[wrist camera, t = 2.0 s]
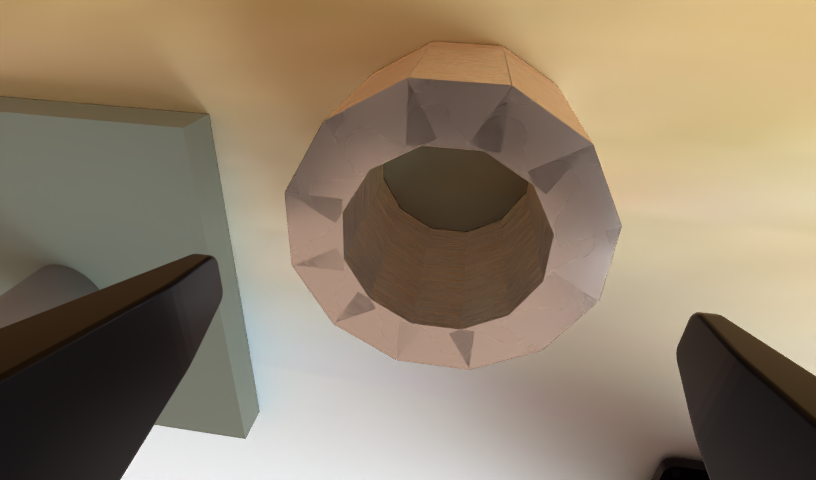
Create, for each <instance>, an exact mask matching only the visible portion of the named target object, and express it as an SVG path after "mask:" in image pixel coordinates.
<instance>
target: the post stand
mask: <svg viewBox="0 0 816 480" xmlns="http://www.w3.org/2000/svg"><path fill="white" fill-rule="evenodd" d="M191 254H204V255H212V256H214V257H215V258H216V260H217V262H218V266H219V271H220V277H221V282H222V287H223V297H222V300H221V303H220V305H219V307H218V309H217V311H216V314H215V316H214V318H213V320H212V322H211V324H210V326H209V328H208V330H207V333H206V335H205V337H204V339H203V341H202V343H201V345H200V347H199V349H198V351H197V354H196V356H195V358H194V359H193V361H192V363H191V365H190V367H189V369H188V370H187V372H186V374H185V375H184V377H183V379H182V380H181V382H180V384H179V385H178V387H177V388H176V390H175V392H174V393H173V395H172V397H171V398H170V400H169V401H168V403H167V405H166V406H165V408H164V410H163V411H162V413H161V414H160V416H159V418H158V419H157V421H156V423H155V424H154V425H160V426H166V427H173V428H179V429H186V430H192V431H198V432H205V433H211V434H218V435H224V436H231V437H237V438H243V439H246V437H247V435H248V433H249V431H250V429H251V427H252V425H253V423H254V421H255V419H256V417H257V415H258V413H259V406H258V400H257V394H256V388H255V382H254V376H253V371H252V365H251V359H250V353H249V347H248V341H247V335H246V330H245V324H244V318H243V312H242V306H241V300H240V294H239V288H238V283H237V277H236V271H235V265H234V259H233V253H232V247H231V242H230V236H229V230H228V224H227V218H226V212H225V206H224V200H223V195H222V189H221V183H220V177H219V171H218V165H217V159H216V153H215V148H214V142H213V136H212V130H211V124H210V118H209V114H200V113H188V112H176V111H165V110H153V109H141V108H129V107H117V106H106V105H94V104H82V103H70V102H58V101H47V100H35V99H23V98H11V97H0V328H2V327H5V326H8V325H10V324H13V323H15V322H18V321H20V320H23V319H26V318H28V317H31V316H33V315H36V314H39V313H41V312H44V311H46V310H49V309H51V308H54V307H57V306H59V305H62V304H64V303H67V302H70V301H72V300H75V299H77V298H80V297H82V296H85V295H88V294H90V293H93V292H95V291H98V290H101V289H103V288H106V287H108V286H111V285H113V284H116V283H119V282H121V281H124V280H126V279H129V278H131V277H134V276H137V275H139V274H142V273H144V272H147V271H150V270H152V269H155V268H157V267H160V266H162V265H165V264H168V263H170V262H173V261H175V260H178V259H181V258H183V257H186V256H188V255H191Z"/></svg>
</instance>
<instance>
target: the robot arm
mask: <svg viewBox="0 0 816 480" xmlns="http://www.w3.org/2000/svg"><path fill="white" fill-rule="evenodd" d="M222 297H223V287H222V282H221V277H220V271H219V266H218V262H217V260H216V258H215V257H214V256H212V255H204V254H191V255H188V256H186V257H183V258H181V259H178V260H175V261H173V262H170V263H168V264H165V265H162V266H160V267H157V268H155V269H152V270H150V271H147V272H144V273H142V274H139V275H137V276H134V277H131V278H129V279H126V280H124V281H121V282H119V283H116V284H113V285H111V286H108V287H106V288H103V289H101V290H98V291H95V292H93V293H90V294H88V295H85V296H82V297H80V298H77V299H75V300H72V301H70V302H67V303H64V304H62V305H59V306H57V307H54V308H51V309H49V310H46V311H44V312H41V313H39V314H36V315H33V316H31V317H28V318H26V319H23V320H20V321H18V322H15V323H13V324H10V325H8V326H5V327H2V328H0V480H120V479H121V478H122V476H123V474H124V473H125V471H126V470H127V468H128V466H129V465H130V463H131V461H132V460H133V458H134V457H135V455H136V453H137V452H138V450H139V448H140V447H141V445H142V444H143V442H144V440H145V439H146V437H147V436H148V434H149V432H150V431H151V429H152V427H153V426H154V424H155V423H156V421H157V419H158V418H159V416H160V414H161V413H162V411H163V410H164V408H165V406H166V405H167V403H168V401H169V400H170V398H171V397H172V395H173V393H174V392H175V390H176V388H177V387H178V385H179V384H180V382H181V380H182V379H183V377H184V375H185V374H186V372H187V370H188V369H189V367H190V365H191V363H192V361H193V359H194V358H195V356H196V354H197V351H198V349H199V347H200V345H201V343H202V341H203V339H204V337H205V335H206V333H207V330H208V328H209V326H210V324H211V322H212V320H213V318H214V316H215V314H216V311H217V309H218V307H219V305H220V303H221V300H222ZM676 356H677V363H678V367H679V371H680V376H681V380H682V384H683V389H684V393H685V397H686V402H687V406H688V410H689V414H690V419H691V423H692V427H693V431H694V434H695V438H696V441H697V444H698V447H699V450H700V453H701V456H702V458H703V461H704V462H702V461H695V460H688V459H681V458H667V459H665V460H663V461H662V462H661V463H660V465H659V467H658V469H657V471H656V473H655V475H654V477H653V479H652V480H816V376H814V375H813V374H811V373H810V372H808V371H807V370H805V369H804V368H802V367H801V366H799V365H797V364H796V363H794V362H793V361H791V360H790V359H788V358H787V357H785V356H783V355H782V354H780V353H779V352H777V351H776V350H774V349H773V348H771V347H769V346H768V345H766V344H765V343H763V342H762V341H760V340H759V339H757V338H756V337H754V336H752V335H751V334H749V333H748V332H746V331H745V330H743V329H742V328H740V327H738V326H737V325H735V324H734V323H732V322H731V321H729V320H728V319H726V318H724V317H723V316H721V315H718V314H709V313H700V312H697V313H695V314H693V315H692V316H691V317H690V319H689V321H688V323H687V326H686V328H685V330H684V333H683V335H682V337H681V340H680V342H679V344H678V347H677V353H676Z"/></svg>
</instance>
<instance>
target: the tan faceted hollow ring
mask: <svg viewBox="0 0 816 480" xmlns="http://www.w3.org/2000/svg"><path fill="white" fill-rule="evenodd" d="M421 146H429V147H440V148H452V149H463V150H475V151H484V152H486V153H487V154H489V155H490V156H492V157H493V158H494V159H496V160H497V161H499V162H500V163H502V164H503V165H505V166H506V167H508V168H509V169H511V170H512V171H513V172H515V173H516V174H518V175H519V176H521V177H522V178H524V179H525V180H527V181H528V186H527V192H526V193H525V194H524V195H523V196H522V197H521V198H520V199H519V201H518V202H517V203H516V204H515V205H514V206H513V207H512V209H511V210H510V211H509V212H508V213H507V214H506V215H505V217H504V218H503V219H502V220H499V221H496V222H494V223H491V224H488V225H486V226H483V227H480V228H478V229H475V230H472V231H470V232H460V231H451V230H441V229H432V228H430V227H428V226H427V225H425V224H423V223H422V222H420V221H419V220H417V219H416V218H414V217H412V216H411V215H409V214H408V213H406V212H405V211H403V210H401V209H400V207H399V205H398V203H397V201H396V200H395V198H394V196H393V194H392V193H391V191H390V189H389V187H388V185H387V184H386V182H385V180H384V178H383V164H384V163H386V162H388V161H390V160H392V159H395V158H397V157H399V156H401V155H403V154H406V153H408V152H410V151H412V150H414V149H416V148H419V147H421ZM285 201H286V211H287V222H288V232H289V242H290V252H291V263H292V266H293V268H294V269H295V271H296V272H297V273H298V275H299V276H300V278H301V279H302V280H303V282H304V283H305V285H306V286H307V288H308V289H309V290H310V292H311V293H312V295H313V296H314V297H315V299H316V300H317V302H318V303H319V304H320V306H321V307H322V309H323V310H324V312H325V313H326V314H327V316H328V317H329V319H330V320H331V321H332V323H334V325H336V326H338V327H340V328H341V329H343V330H345V331H347V332H348V333H350V334H352V335H354V336H355V337H357V338H359V339H361V340H362V341H364V342H366V343H368V344H369V345H371V346H373V347H375V348H376V349H378V350H380V351H381V352H383V353H385V354H387V355H388V356H390V357H392V358H394V359H395V360H396V359H397V360H400V361H408V362H415V363H423V364H430V365H438V366H445V367H453V368H460V369H468V370H469V369H474V368H478V367H482V366H485V365H489V364H493V363H497V362H500V361H504V360H508V359H512V358H515V357H519V356H523V355H527V354H530V353H534V352H538V351H541V350H543V349H544V348H545V347H546V346H548V345H549V344H550V343H551V342H552V341H553V340H554V339H556V338H557V337H558V336H559V335H560V334H561V333H563V332H564V331H565V330H566V329H567V328H568V327H569V326H571V325H572V324H573V323H574V322H575V321H576V320H577V319H579V318H580V317H581V316H582V315H583V314H584V313H586V312H587V311H588V310H589V309H590V308H591V307H592V306H594V305H595V304H596V303H597V302H598V300H599V299H600V296H601V292H602V289H603V286H604V283H605V279H606V276H607V273H608V270H609V266H610V263H611V260H612V257H613V253H614V250H615V247H616V244H617V240H618V237H619V234H620V231H621V226H622V225H621V222H620V220H619V217H618V214H617V211H616V208H615V205H614V202H613V199H612V197H611V194H610V191H609V188H608V185H607V182H606V179H605V177H604V174H603V171H602V168H601V165H600V162H599V159H598V157H597V154H596V151H595V148H594V145H593V143H592V142H591V140H590V138H589V137H588V135H587V133H586V132H585V130H584V128H583V127H582V125H581V123H580V122H579V120H578V118H577V117H576V115H575V114H574V112H573V110H572V109H571V107H570V105H569V104H568V102H567V100H566V99H565V97H564V95H563V94H562V92H561V90H560V89H559V87H558V86H557V85H555V84H554V83H553V82H551V81H550V80H549V79H547V78H546V77H545V76H543V75H542V74H540V73H539V72H538V71H536V70H535V69H534V68H532V67H531V66H530V65H528V64H527V63H526V62H524V61H523V60H522V59H520V58H519V57H517V56H516V55H515V54H513V53H512V52H511V51H509V50H508V49H507V48H505V47H504V46H497V45H482V44H466V43H451V42H436V41H433V42H431V43H429V44H427V45H425V46H423V47H421V48H420V49H418V50H416V51H414V52H412V53H410V54H408V55H406V56H405V57H403V58H401V59H399V60H397V61H395V62H393V63H392V64H390V65H388V66H386V67H384V68H382V69H380V70H379V71H377V72H375V73H373V74H372V75H371V76H370V77H369V78H368V79H367V80H366V81H365V82H364V83H363V84H362V85H361V86H360V87H359V88H358V89H357V90H356V91H355V92H354V93H353V94H352V95H350V96H349V97H348V98H347V99H346V100H345V101H344V102H343V103H342V104H341V105H340V106H339V107H338V108H337V109H336V110H335V111H334V112H333V113H332V114H331V115H330V116H329V117H328V118H326V119H325V120H324V121H323V123H322V125H321V127H320V128H319V130H318V132H317V134H316V136H315V138H314V139H313V141H312V143H311V145H310V147H309V149H308V150H307V152H306V154H305V156H304V158H303V160H302V161H301V163H300V165H299V167H298V169H297V171H296V172H295V174H294V176H293V178H292V180H291V182H290V183H289V185H288V187H287V189H286V191H285Z"/></svg>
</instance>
